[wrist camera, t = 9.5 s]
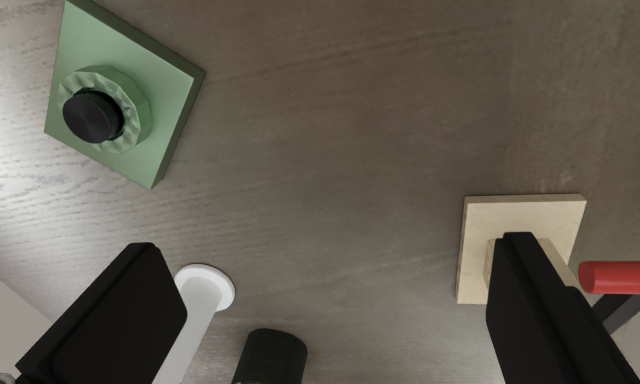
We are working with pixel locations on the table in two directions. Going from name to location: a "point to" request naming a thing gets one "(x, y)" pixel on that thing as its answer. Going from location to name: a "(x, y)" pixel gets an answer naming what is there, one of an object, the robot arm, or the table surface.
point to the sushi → (271, 359)
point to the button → (93, 116)
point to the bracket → (516, 216)
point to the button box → (122, 90)
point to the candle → (195, 316)
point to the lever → (612, 290)
